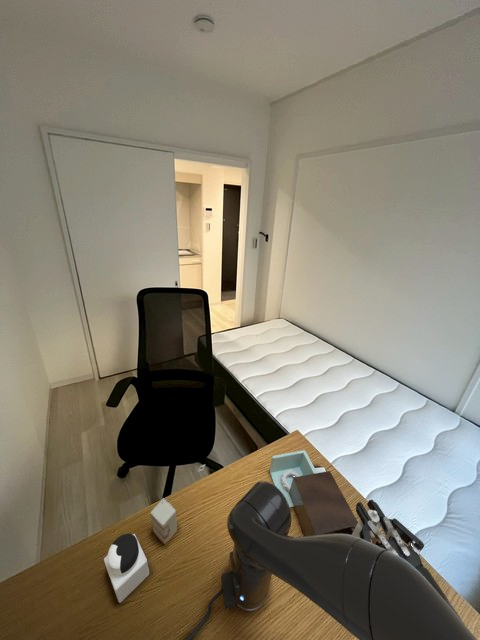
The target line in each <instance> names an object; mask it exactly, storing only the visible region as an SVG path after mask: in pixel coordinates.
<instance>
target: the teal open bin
mask: <svg viewBox="0 0 480 640" xmlns="http://www.w3.org/2000/svg"><path fill="white" fill-rule="evenodd" d="M269 473H270V476H271V478H272V479H271V480H272V481H273V484H274V485H275V486H276V487H277V488H278V489H279V490H280V491H281V492H282V493H283V495H284V496H285V498H286V500H287V502H288V504H289V507H290V508H294V505H293V503H292V500H291V497H290V494H289V491H290V488H291V484H292V480H293V476H295V477H299V476H304V475H310V474H315V473H318V472H317V470H316V468H315V466H314V464H313V462H312V460H311V458H310V457H309V454H308V452H307V451H306V449H303V450H297V451H292V452H286V453H281V454H276V455H275V454H274V455H272V456H271V461H270V466H269Z"/></svg>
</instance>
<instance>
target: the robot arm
mask: <svg viewBox="0 0 480 640" xmlns="http://www.w3.org/2000/svg"><path fill="white" fill-rule="evenodd" d="M366 503H367V504H366V505H367V508H368V509H369V510H373V511H376V512H377V514H378V516H379V522H380V528H381V530H382V531H380V530H378V529H377V528H376V526H375V525H374V524H373V522H372V521H371V520H372V519H371V517H370V516H369V514H368V513H367V512H368V511H367V509H366V507H365V506H364V504H363V503H362V502H361V501H358V502H357V503H356V505H355V512H356V514H357V516H358V518H359V520H360V519H361V521H362V523H363V525H364V526H363V527H362V529H361V531H360V533H359V535H360V538H359V537H357V536H354V535H351V534H343V533H331V534H319V535H311V536H304V535H303V536H293V535H289V533H290V531H291V530H290V529H291V526H292V511H291V507H289V504H288V502H287V500H286V498H285V496H284V495H283V493H282V492H281V491H280V490H279V489H278V488H277V487H276V486H275V485H274V483H272V482H270V481H266V480H260V481H258V482H256V483H255V484H254V485H253V486H252V487H251V488H250V489H249V490H248V491H247V492H246V493H245V494H244V495H243V496H242V497H241V498H240V499H239V501H237V502H236V504H235V505H234V506H233V507H232V509H231V510H230V512H229V513H228V516H227V521H226V527H227V532H228V535H229V537H230V538H231V540H232V542H233V548H232V551H230V552H229V557H228V565H227V566H228V567H227V571H225V572H222V573H221V576H220V577H221V578H220V579H221V589H220V590H219V591H218V592H217V593H216V594H214V595H213V597H212V598H211V599H210V600H209V602H208V606H207V608H208V609H207V611H206V613H205V615H204V616H203V618H202V620H201V621H200V622H199V624H197V626H196V627H195V628H194V630H192V632H191V633H190V634H189V635H188V636H186V638H185V639H184V640H193V639H194V637H195V636H197V634H198V633H199V632H200V630H201V629H202V628H203V627H204V625H205V624H206V622H207V621H208V618H209V617H210V615H211V613H212V608H213V607H212V606H213V605H214V603H215V602H216V601H217V600H218V599H219V598H220V597H221V596H222V599H223V608H224V610H228V609H232V608H235V607H236V606H237V607H238V608H239V609H240V610H242V611H243V612H249V613H250V612H252V613H253V612H255V611H257V610H259V609H260V608H261V607H262V606H263V605H264V603H265V601H266V599H267V597H268V592H269V587H270V583H271V580H272V576H275V577H276V578H278V580H281V581H283V582H284V583H285V584H287V585H288V586H290V587H292V588H293V589H295V590H296V591H298V592H299V593H301V594H302V595H303V596H304V597H306V598H307V599H309V600H310V601H311V602H312V603H314V604H315V605H316V606H318V607H319V608H320V609H322V610H323V611H324V612H325V613H326V614H328V615H329V616H330V617H331V618H332V619H333V620H335V621H336V622H337V623H338V624H340V625H341V626H342V627H343V628H344V629H345V630H346V631H348V632H349V633H350V634H351V635H352V636H354V637H355V638H357V640H479V639H478V638H477V637H476V636H475V635H474V634H473V632H472V631H471V630H470V629H469V627H468V626H467V625H466V624H465V622H464V621H463V620H462V618H461V616H460V614H459V613H458V612H457V610H456V609H455V607H454V606H453V604H452V603H451V602H450V600H449V599H448V596H447V595H446V594H445V592H444V591H443V589H442V588H441V587H440V585H439V584H438V581H436V579H435V578H434V576H433V575H432V573H431V572H430V570H429V569H428V568H427V567H425V566H424V565H423V562H422V559H421V556H420V553H421V552H422V551H423V549H424V548H425V544H424V542H423V541H422V540H421V539H420V538H419V537H418V536H416V535H415V534H414V533H413V532H412V531H411V530H409V529H408V528H407V527H406V526H405V525H404V524H403V523H401V522H400V521H399V520H398V519H397V518H389V517H388V516H386V515H385V514H384V512H383V510H382V508H381V507H380V506H379V504H378V503H377V502H376V501H374V499H369V500H368V501H367V502H366ZM379 522H378V523H379ZM382 532H383V533H382ZM371 540H372V543H371Z"/></svg>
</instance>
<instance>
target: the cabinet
mask: <svg viewBox="0 0 480 640" xmlns="http://www.w3.org/2000/svg"><path fill="white" fill-rule="evenodd" d="M289 494H290V497H291V500H292V503H293V505H294V506H293V509H294V512H295V514H296V517H297V519H298V522H299V524H300V527H301V530H302V533H303V536H311V535H319V534H328V533H332V532H336V531H341V530H345V529H349V528H353V527H354V529H355V527H356V525H357V523H358V521H359V520H357V518H356V515H355V514H354V512H353V511H352V508H351V507H350V505H349V503H348V502H347V499H346V498H345V496H344V494H343V492H342V491H341V488H340V487H339V485H338V483H337V481H336V479H335V477H334V476H333V474H332V471H330V470H328V471H322V472H317V473H315V474H310V475H304V476H299V477H293V480H292V484H291V488H290V491H289Z"/></svg>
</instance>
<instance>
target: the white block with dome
mask: <svg viewBox="0 0 480 640" xmlns="http://www.w3.org/2000/svg"><path fill="white" fill-rule="evenodd" d="M103 562H104V565H105V568H106V570H107V574H108V577H109V578H110V582H111V585H112V587H113V590H114V593H115V596H116V599H117V602H118V603H119V604H121V603H122V602H124V601H125V599H126V598H127V597H128V596H129V595H130V594H132V592H133V591H134V590H136V589H137V588H138V587H139V586H140V584H142V583H143V582H144V580H146V578H148V577H149V576H150V568H149V563H148V558H147V556H146V554H145V552H144V550H143V548H142V546H141V544H140V542H139V539H138V537H137V536H136V533H124V534H121V535H119V536H117V538H115V540H114V541H113V542H112V544H111V545H110V547H109V548H108V552H107V555H106V556H104V558H103Z"/></svg>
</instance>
